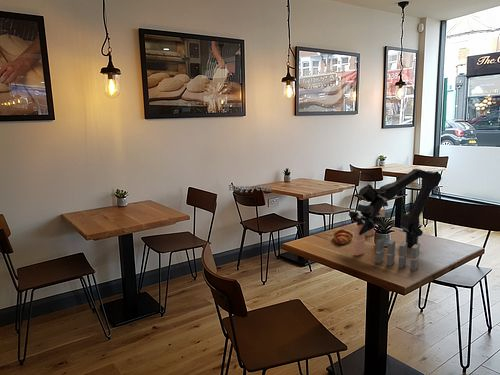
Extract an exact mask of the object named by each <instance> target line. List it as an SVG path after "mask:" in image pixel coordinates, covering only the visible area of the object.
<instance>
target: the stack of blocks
mask: <svg viewBox="0 0 500 375" xmlns="http://www.w3.org/2000/svg"><path fill="white" fill-rule="evenodd" d="M379 213H380V215H379V216H378V215H377V216H376V217H386V207H385V206H383V207H382V208H381V210H380V212H379ZM364 224H365V221H364ZM375 226H376V225H375ZM374 233H375V230H374V228H373V229H371V230H369V231H367V232H365V236H366V237H372V236H373V235H375V234H376V233H375V234H374Z"/></svg>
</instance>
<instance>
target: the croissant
mask: <svg viewBox="0 0 500 375" xmlns="http://www.w3.org/2000/svg"><path fill="white" fill-rule="evenodd" d="M332 236H333V239H334V241H335V242H336V243H337V244H340V245H343V244H345V245H346V244H348V243H349V242H350V241H351V240H352V239H353V236H354V235H353V233H352V232H351V230H348V229H346V228H340V227H339V228H337V229H335V230H334V231H333V235H332Z"/></svg>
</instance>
